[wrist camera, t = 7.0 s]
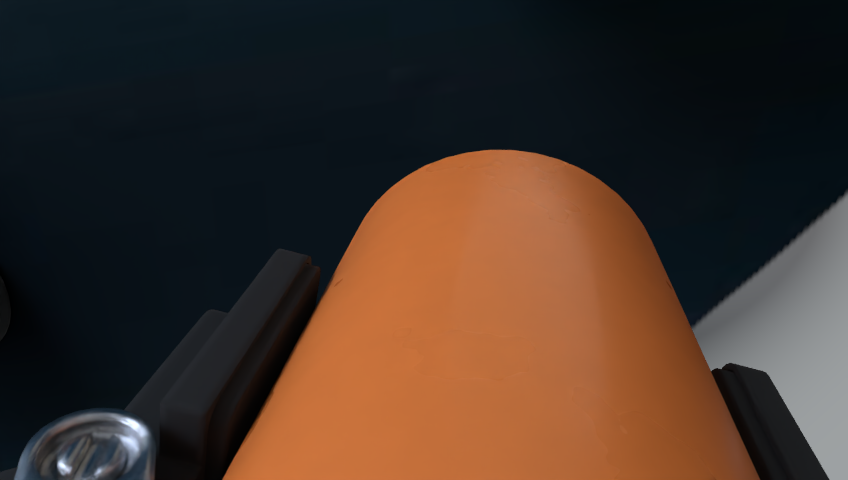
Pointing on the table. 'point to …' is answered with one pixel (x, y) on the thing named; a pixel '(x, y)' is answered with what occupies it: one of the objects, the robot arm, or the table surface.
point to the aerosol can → (4, 309)
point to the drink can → (496, 343)
